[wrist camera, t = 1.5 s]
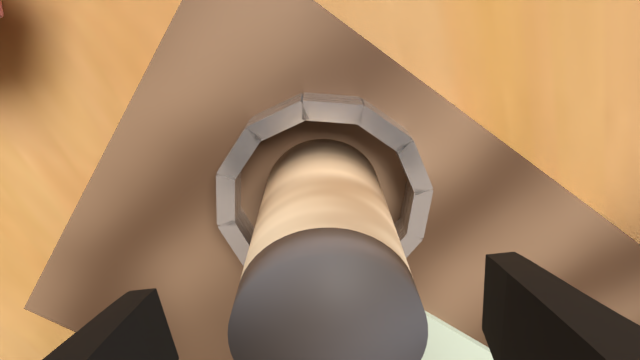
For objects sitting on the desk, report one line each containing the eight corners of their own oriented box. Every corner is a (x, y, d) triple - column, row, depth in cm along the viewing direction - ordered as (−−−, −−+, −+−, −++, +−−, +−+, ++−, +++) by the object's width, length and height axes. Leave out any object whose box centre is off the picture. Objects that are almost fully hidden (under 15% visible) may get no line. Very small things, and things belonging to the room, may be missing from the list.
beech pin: (402, 179, 15) (470, 318, 8) (335, 258, 16) (350, 434, 9) (307, 115, 14) (299, 216, 7) (245, 205, 15) (191, 359, 8)
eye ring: (462, 168, 14) (474, 182, 13) (344, 302, 17) (346, 323, 16) (294, 49, 13) (292, 54, 12) (188, 215, 15) (178, 232, 14)
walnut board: (671, 268, 18) (701, 290, 17) (431, 466, 23) (438, 496, 22) (228, -63, 13) (218, -71, 12) (46, 285, 18) (23, 308, 17)
